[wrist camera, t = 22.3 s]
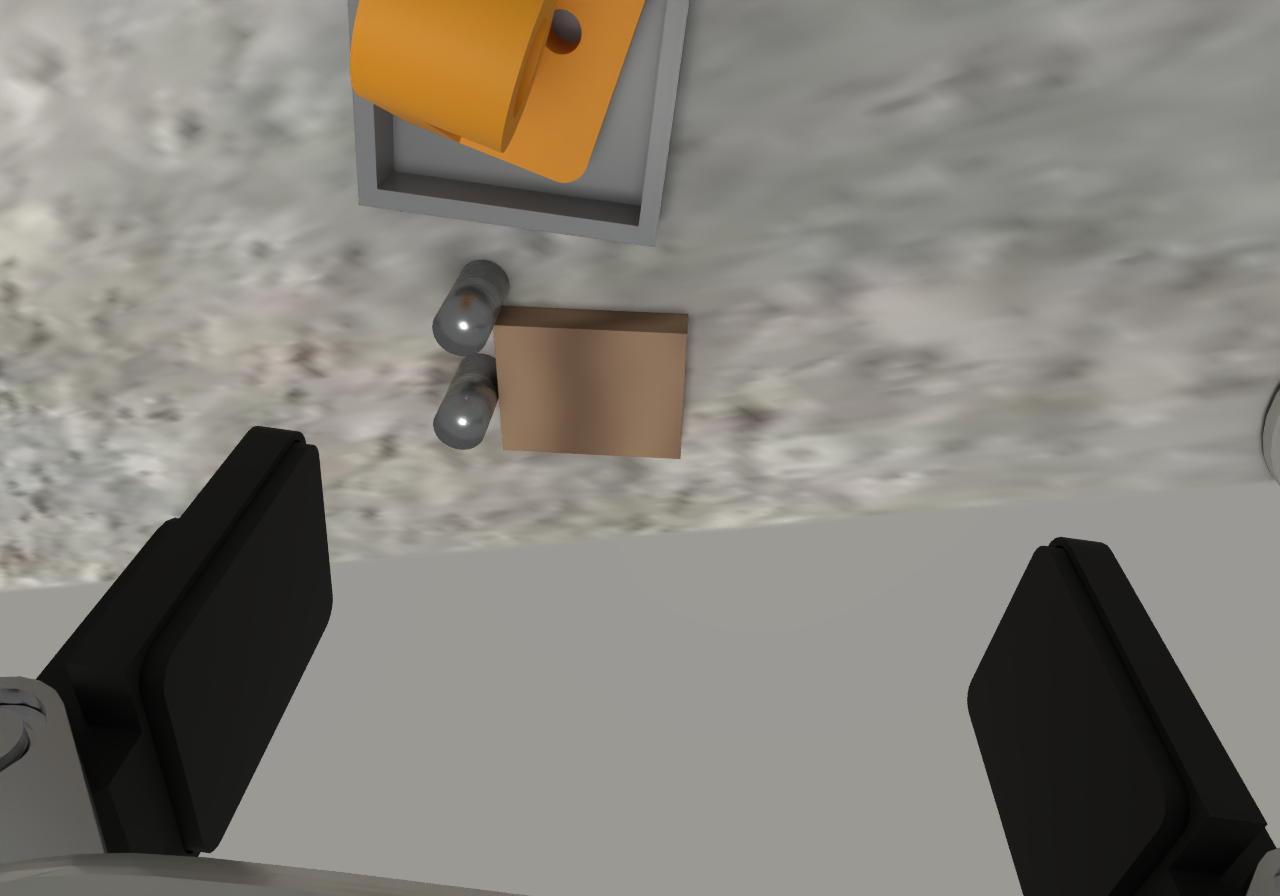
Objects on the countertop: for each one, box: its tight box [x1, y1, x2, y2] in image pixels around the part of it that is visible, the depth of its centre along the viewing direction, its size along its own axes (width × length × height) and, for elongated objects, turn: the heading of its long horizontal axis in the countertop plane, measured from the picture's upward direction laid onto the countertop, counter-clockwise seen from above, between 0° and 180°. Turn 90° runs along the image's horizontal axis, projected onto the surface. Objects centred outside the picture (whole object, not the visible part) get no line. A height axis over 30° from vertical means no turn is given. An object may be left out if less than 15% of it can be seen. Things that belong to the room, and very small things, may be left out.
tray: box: [348, 0, 689, 247], centre depth 34 cm, size 13×17×3 cm
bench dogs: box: [432, 260, 509, 450], centre depth 42 cm, size 2×7×5 cm, turn 173°
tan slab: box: [493, 306, 688, 459], centre depth 44 cm, size 9×7×2 cm
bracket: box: [350, 0, 646, 183], centre depth 30 cm, size 11×7×12 cm, turn 159°
